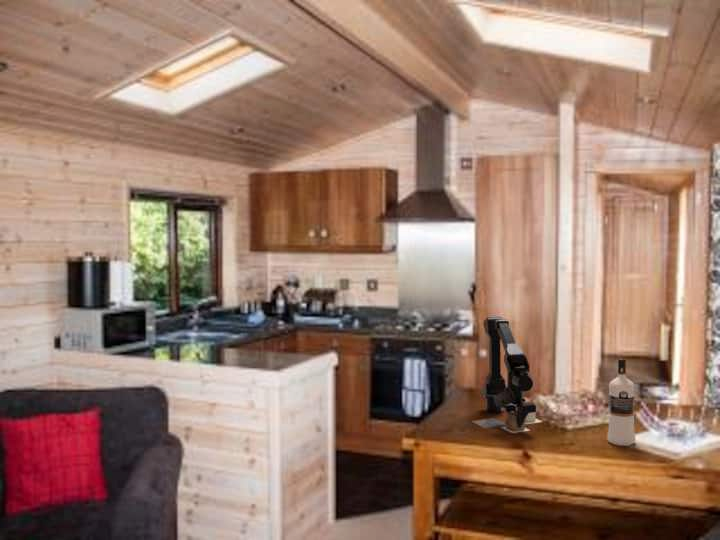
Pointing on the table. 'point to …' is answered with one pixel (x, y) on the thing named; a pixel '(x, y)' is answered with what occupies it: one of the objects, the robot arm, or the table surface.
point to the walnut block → (513, 422)
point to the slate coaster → (489, 423)
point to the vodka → (621, 408)
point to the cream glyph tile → (515, 431)
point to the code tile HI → (533, 421)
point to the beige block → (531, 417)
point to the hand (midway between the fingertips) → (515, 425)
